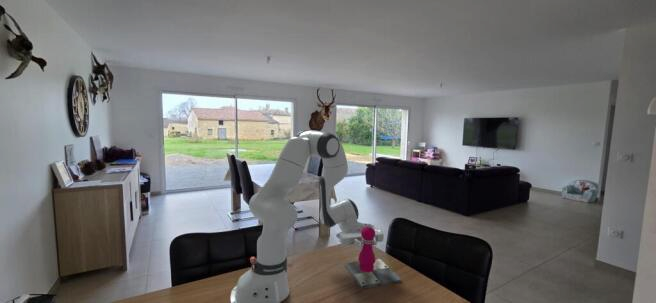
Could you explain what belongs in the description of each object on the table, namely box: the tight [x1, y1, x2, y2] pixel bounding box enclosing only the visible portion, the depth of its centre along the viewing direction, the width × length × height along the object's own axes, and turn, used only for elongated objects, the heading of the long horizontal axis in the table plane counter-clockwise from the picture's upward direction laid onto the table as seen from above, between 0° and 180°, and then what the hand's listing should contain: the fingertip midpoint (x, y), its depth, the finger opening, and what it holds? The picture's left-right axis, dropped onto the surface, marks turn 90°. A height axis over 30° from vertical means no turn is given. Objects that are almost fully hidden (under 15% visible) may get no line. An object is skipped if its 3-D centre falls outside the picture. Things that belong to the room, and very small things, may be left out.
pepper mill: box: [358, 223, 376, 272], centre depth 117 cm, size 7×7×20 cm
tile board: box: [344, 258, 402, 290], centre depth 124 cm, size 19×19×1 cm
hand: (368, 244), depth 116 cm, fingers closed on pepper mill, 5 cm apart
